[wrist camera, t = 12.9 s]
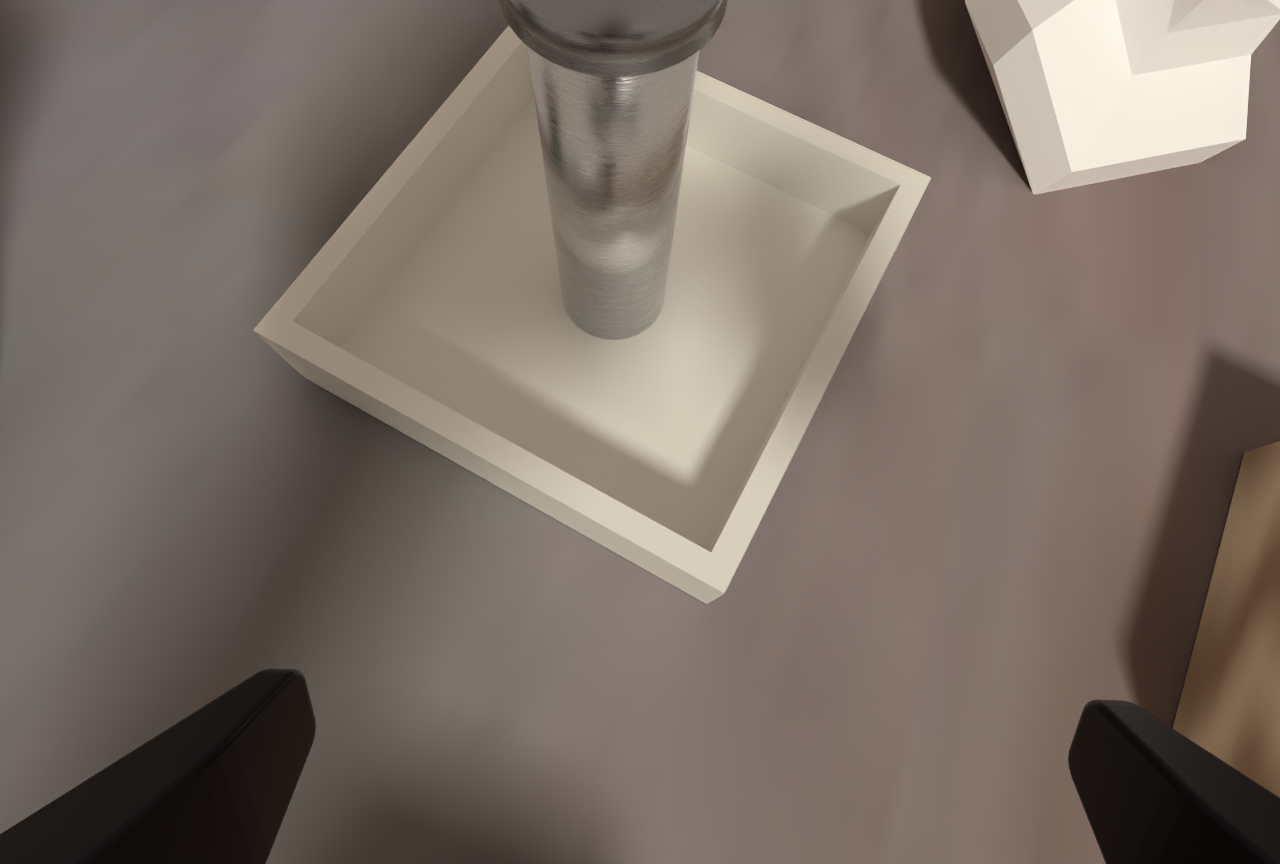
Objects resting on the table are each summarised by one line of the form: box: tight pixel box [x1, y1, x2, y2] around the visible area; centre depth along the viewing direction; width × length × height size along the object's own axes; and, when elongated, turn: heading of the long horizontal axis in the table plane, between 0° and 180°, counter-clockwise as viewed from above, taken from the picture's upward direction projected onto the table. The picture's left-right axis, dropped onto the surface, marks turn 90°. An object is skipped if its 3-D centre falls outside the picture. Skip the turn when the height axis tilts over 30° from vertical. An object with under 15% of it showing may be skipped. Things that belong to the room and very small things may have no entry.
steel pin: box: [500, 0, 728, 340], centre depth 18 cm, size 4×4×12 cm
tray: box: [253, 26, 931, 604], centre depth 23 cm, size 16×16×4 cm
